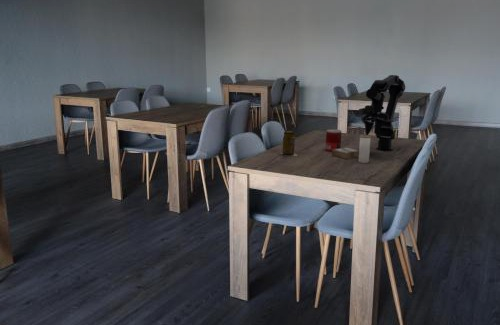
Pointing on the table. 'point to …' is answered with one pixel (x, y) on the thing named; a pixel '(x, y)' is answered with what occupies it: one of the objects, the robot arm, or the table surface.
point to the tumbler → (364, 148)
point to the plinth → (345, 153)
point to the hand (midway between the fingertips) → (371, 134)
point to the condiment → (288, 144)
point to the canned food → (333, 139)
